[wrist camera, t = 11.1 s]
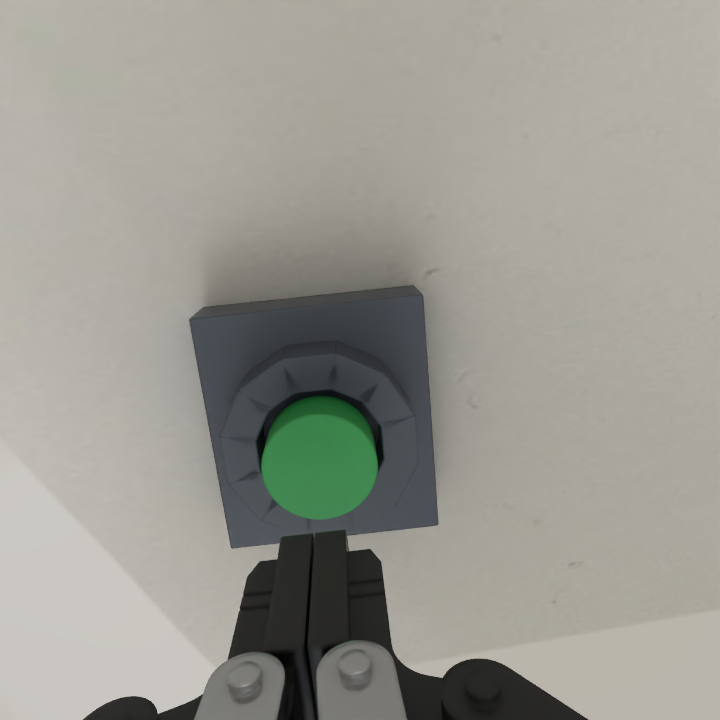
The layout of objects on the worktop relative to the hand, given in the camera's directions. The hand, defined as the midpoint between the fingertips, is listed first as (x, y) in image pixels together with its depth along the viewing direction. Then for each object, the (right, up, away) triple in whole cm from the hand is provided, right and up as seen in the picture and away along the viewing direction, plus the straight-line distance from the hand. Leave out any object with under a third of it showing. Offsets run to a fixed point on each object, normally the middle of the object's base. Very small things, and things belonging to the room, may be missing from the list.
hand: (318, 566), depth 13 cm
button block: (0, +3, +10) cm, 10 cm away
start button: (0, +2, +6) cm, 6 cm away
